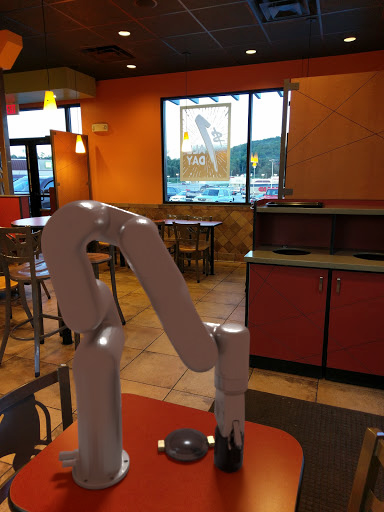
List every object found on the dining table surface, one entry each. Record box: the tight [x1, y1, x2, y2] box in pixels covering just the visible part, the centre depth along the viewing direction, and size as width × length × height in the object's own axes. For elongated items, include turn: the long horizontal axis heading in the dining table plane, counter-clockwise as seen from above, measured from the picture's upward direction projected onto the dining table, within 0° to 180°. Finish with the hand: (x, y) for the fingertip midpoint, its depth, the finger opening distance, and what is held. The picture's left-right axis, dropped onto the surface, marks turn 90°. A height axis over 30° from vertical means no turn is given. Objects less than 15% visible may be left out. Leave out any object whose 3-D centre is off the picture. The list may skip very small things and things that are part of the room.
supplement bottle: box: [213, 423, 245, 474], centre depth 83 cm, size 7×7×12 cm
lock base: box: [157, 427, 214, 463], centre depth 89 cm, size 14×11×1 cm
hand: (228, 450), depth 83 cm, fingers closed on supplement bottle, 6 cm apart
